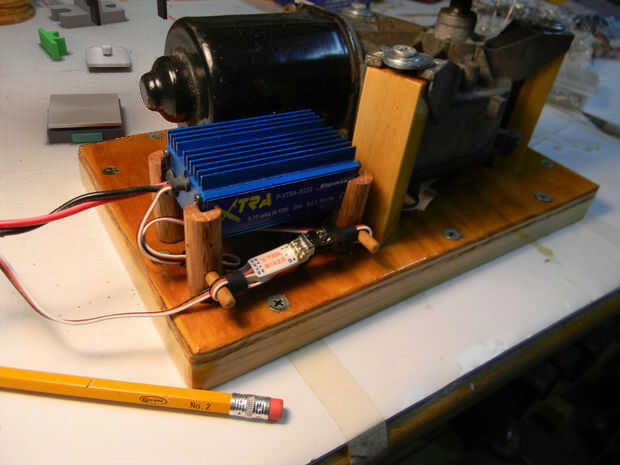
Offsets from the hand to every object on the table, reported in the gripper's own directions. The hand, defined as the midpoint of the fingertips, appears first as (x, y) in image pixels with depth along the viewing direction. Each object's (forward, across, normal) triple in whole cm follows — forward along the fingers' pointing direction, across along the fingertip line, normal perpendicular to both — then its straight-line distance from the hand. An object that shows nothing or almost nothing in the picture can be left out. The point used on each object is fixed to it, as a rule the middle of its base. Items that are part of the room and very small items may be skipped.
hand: (131, 20), depth 94 cm
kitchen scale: (+17, -14, -6) cm, 23 cm away
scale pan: (+14, -14, -6) cm, 20 cm away
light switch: (+17, +2, +20) cm, 27 cm away
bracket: (+17, +10, +52) cm, 56 cm away
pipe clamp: (+17, -6, +32) cm, 37 cm away
